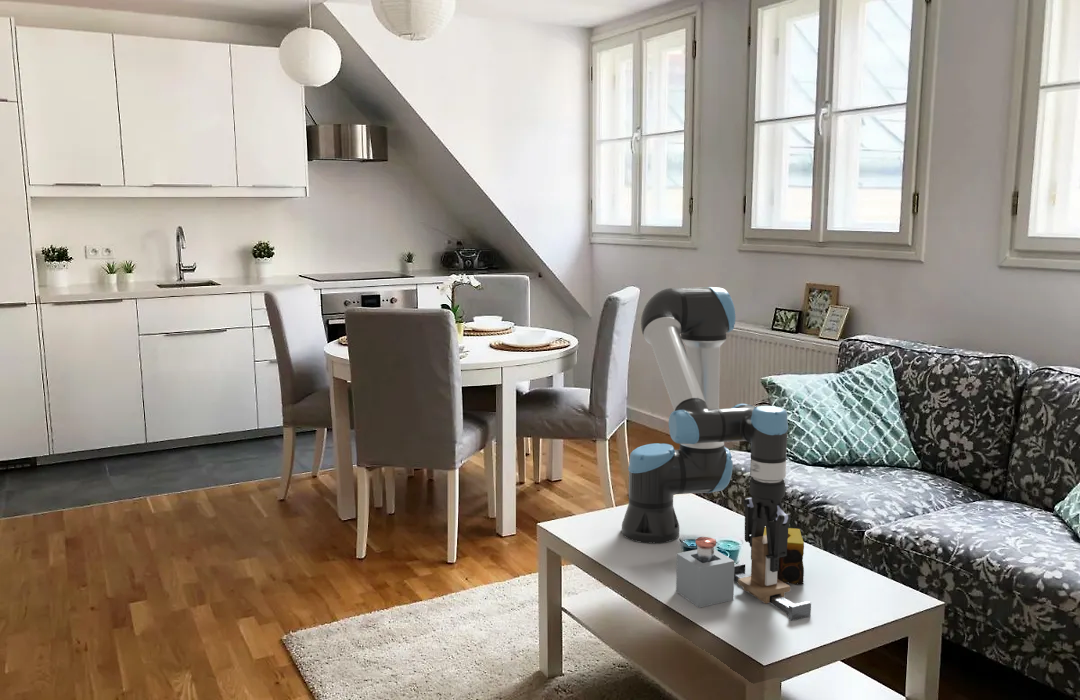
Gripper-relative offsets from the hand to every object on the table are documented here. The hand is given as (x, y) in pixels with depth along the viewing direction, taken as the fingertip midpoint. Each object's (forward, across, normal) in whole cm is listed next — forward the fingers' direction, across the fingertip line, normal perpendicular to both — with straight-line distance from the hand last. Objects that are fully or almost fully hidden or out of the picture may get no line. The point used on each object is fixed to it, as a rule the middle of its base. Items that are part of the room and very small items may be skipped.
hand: (763, 579), depth 197 cm
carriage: (+4, 0, 0) cm, 4 cm away
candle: (+4, -7, +10) cm, 13 cm away
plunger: (-5, -5, -12) cm, 14 cm away
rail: (+4, +1, 0) cm, 4 cm away
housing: (+4, -5, -12) cm, 14 cm away
